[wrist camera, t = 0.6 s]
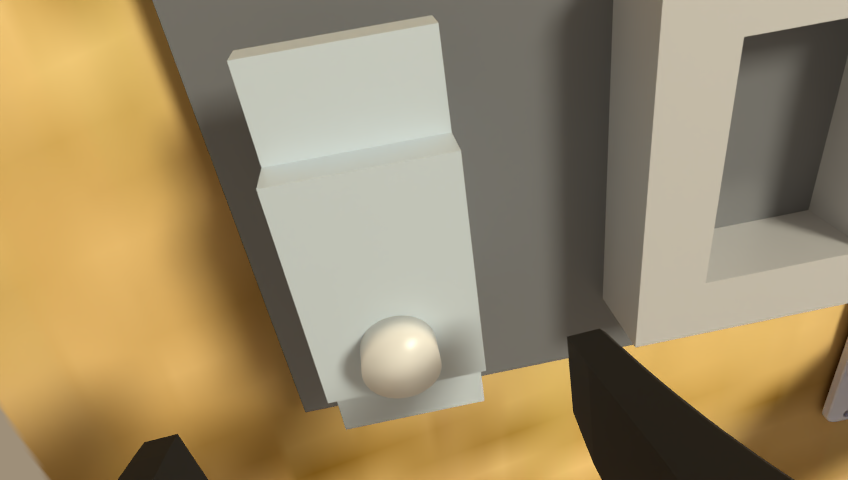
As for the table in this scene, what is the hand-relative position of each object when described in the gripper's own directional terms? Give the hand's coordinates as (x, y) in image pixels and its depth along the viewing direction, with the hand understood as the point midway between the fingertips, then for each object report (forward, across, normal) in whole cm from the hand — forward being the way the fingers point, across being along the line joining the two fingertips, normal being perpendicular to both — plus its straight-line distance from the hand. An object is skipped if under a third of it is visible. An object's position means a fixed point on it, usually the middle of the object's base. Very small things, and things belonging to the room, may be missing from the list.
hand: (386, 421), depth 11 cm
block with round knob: (+8, 0, -1) cm, 8 cm away
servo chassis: (+8, -6, 0) cm, 11 cm away
